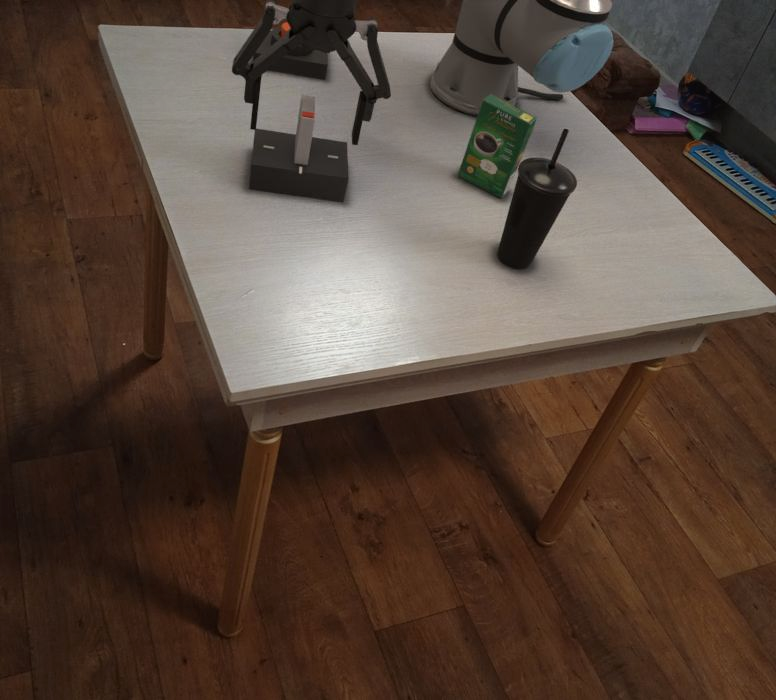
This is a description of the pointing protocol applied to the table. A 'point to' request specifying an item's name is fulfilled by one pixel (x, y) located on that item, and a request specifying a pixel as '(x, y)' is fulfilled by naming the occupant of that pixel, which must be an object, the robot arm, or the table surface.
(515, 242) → the drinking cup
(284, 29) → the button
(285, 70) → the button block
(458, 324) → the table surface
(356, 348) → the table surface
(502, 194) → the coffee box
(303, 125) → the grey upright slab
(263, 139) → the panel
